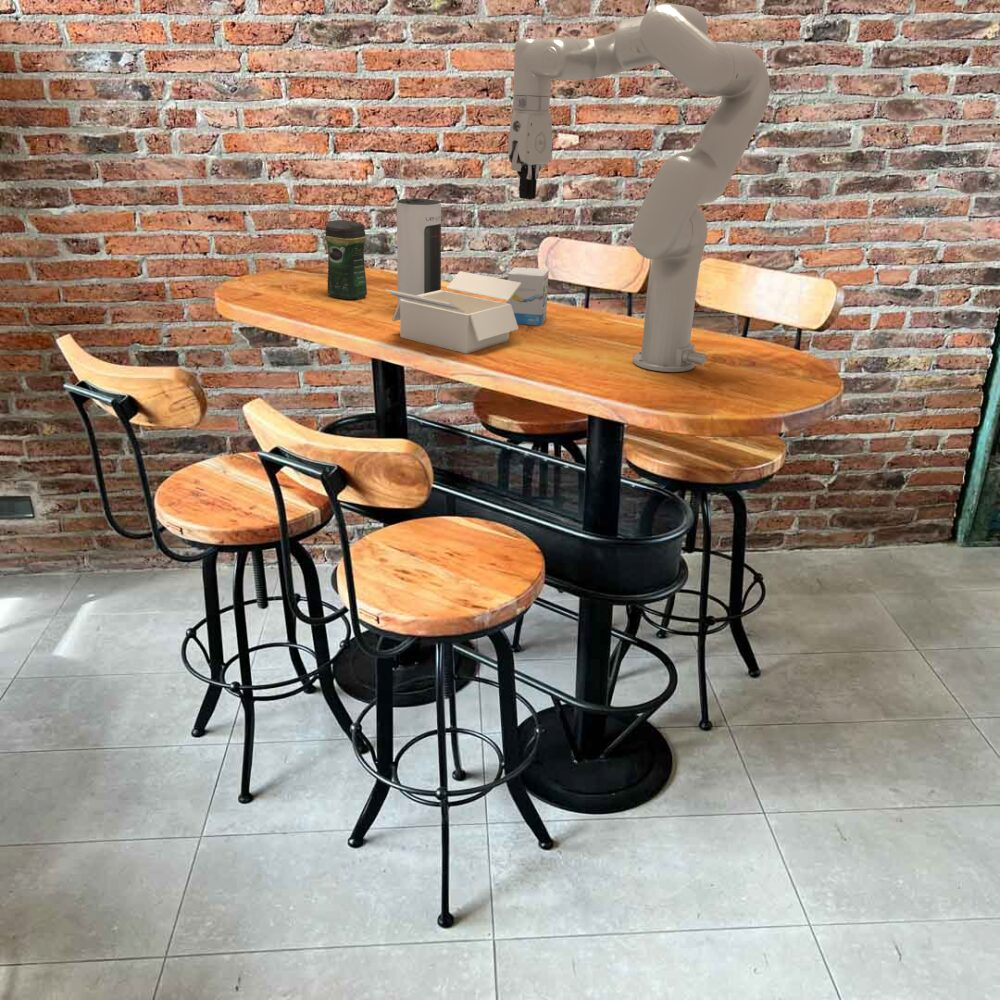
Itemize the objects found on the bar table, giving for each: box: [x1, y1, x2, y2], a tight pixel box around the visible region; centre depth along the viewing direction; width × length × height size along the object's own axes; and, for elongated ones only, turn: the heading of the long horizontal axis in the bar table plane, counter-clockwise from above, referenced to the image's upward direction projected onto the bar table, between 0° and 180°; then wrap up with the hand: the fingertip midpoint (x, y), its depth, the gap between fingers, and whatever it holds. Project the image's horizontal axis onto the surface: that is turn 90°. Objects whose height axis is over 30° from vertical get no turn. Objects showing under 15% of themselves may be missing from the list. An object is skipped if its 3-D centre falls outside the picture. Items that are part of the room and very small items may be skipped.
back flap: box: [445, 270, 522, 302], centre depth 214 cm, size 17×1×6 cm
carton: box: [392, 289, 519, 355], centre depth 210 cm, size 24×14×8 cm, turn 53°
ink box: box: [505, 266, 550, 327], centre depth 227 cm, size 8×8×12 cm
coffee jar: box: [325, 219, 368, 300], centre depth 242 cm, size 10×8×19 cm
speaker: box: [396, 197, 442, 304], centre depth 228 cm, size 11×10×26 cm
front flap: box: [385, 288, 465, 313], centre depth 200 cm, size 17×1×6 cm
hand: (527, 198), depth 207 cm, fingers closed
